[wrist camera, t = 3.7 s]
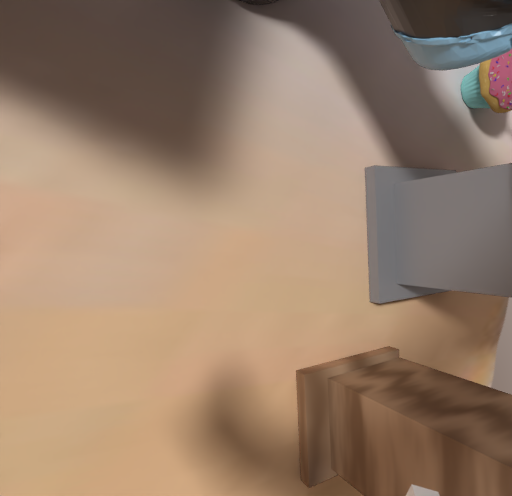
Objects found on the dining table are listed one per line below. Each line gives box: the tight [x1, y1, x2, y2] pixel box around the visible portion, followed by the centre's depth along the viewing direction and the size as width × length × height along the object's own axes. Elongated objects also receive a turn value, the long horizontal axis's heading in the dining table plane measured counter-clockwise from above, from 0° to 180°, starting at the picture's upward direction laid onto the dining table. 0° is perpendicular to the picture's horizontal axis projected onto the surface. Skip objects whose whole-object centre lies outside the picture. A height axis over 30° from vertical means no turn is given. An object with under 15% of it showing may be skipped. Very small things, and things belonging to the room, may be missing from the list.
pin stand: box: [296, 347, 512, 496], centre depth 30 cm, size 14×12×30 cm
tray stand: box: [365, 163, 512, 304], centre depth 39 cm, size 15×17×22 cm
